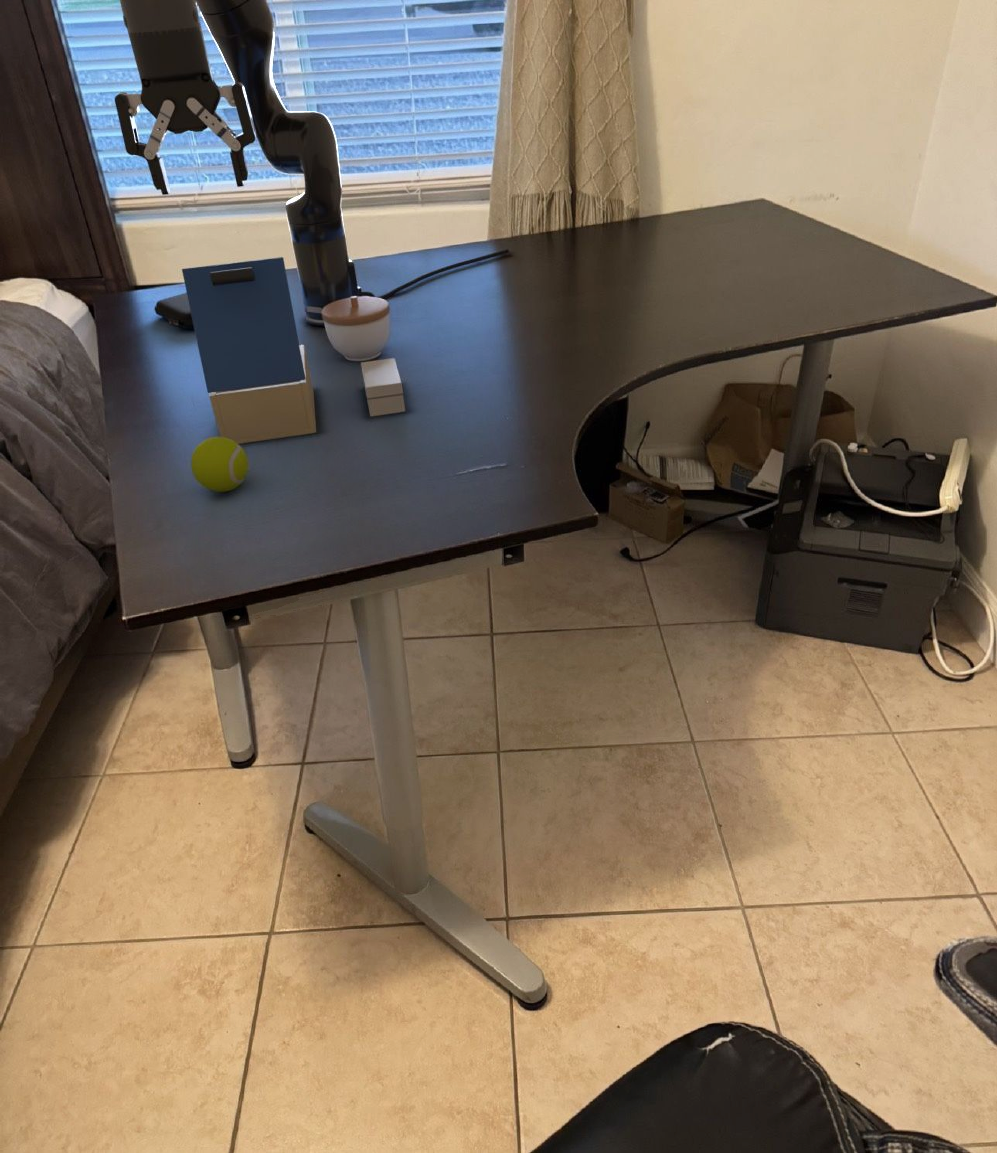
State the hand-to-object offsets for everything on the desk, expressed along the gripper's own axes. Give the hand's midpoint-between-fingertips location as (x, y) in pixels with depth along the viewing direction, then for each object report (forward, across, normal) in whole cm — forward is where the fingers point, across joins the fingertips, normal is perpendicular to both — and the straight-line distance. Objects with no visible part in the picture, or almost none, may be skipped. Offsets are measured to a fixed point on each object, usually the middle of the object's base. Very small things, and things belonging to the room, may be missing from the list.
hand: (203, 189), depth 101 cm
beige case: (+32, -17, -6) cm, 36 cm away
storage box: (+32, -1, -5) cm, 32 cm away
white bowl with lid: (+32, -15, -26) cm, 43 cm away
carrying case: (+32, +16, -54) cm, 65 cm away
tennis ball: (+32, +4, +14) cm, 35 cm away
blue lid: (+17, -1, -1) cm, 17 cm away
